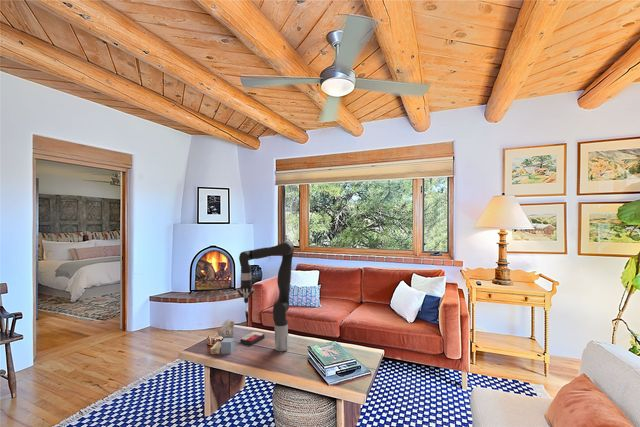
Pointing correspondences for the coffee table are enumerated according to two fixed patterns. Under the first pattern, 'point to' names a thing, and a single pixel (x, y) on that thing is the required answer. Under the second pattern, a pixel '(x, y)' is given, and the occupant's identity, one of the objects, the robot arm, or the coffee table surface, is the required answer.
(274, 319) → the robot arm
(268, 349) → the coffee table surface
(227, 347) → the block
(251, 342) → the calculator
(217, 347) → the tan lumpy piece
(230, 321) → the fossil
